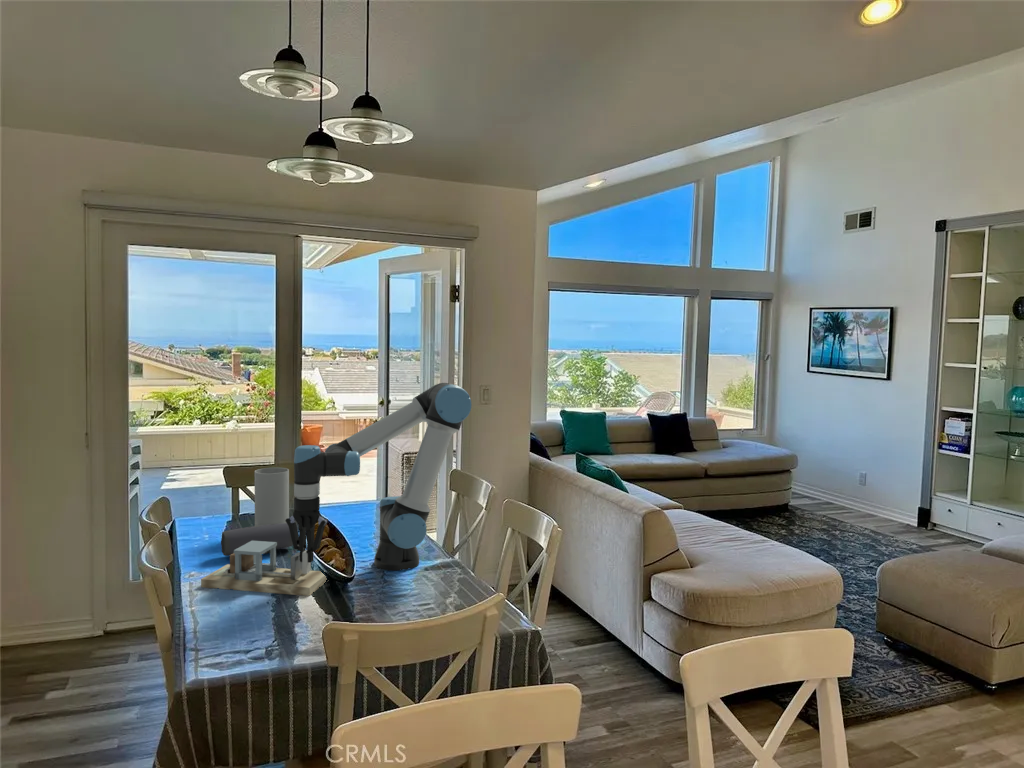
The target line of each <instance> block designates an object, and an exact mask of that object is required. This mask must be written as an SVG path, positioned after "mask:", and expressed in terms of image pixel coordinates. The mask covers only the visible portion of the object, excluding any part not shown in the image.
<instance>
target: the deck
mask: <svg viewBox="0 0 1024 768" xmlns="http://www.w3.org/2000/svg"><path fill="white" fill-rule="evenodd" d="M229 567H230V563H227V564H225V565H223V566H222V567H220V568H218V569H216V570H215V571H212V572H211V573H210V574H207V575H205V576H204V577H202V578H200V587H201V588H206V589H207V588H208V589H217V588H219V589H220V590H230V589H233V591H243V592H256V593H268V594H281V595H295V596H305V597H306V596H307V597H309V596H311V595H312V594H314V593H315V592H316V591H317V590H319V589H320V588H321V587H322V586H323V585H325V584H326V583H327V582H326V580H327V578H326V576H325V575H324V574H323V573H322V572H321V571H322V570H311V571H310V572H309V573H307V574H303V575H301V576H300V577H299V578H297V579H296V580H291V577H278V576H265V575H262V580H261V581H251V580H238V579H235V576H224V575H223V572H225V570H226V569H228V568H229ZM267 572H270V571H267ZM274 572H281V573H291V568H285V567H284V568H283V567H282V568H281V567H276V571H274ZM325 582H326V583H325ZM324 583H325V584H324ZM319 587H320V588H319ZM313 592H314V593H313Z"/></svg>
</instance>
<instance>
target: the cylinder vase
mask: <svg viewBox="0 0 1024 768" xmlns="http://www.w3.org/2000/svg"><path fill="white" fill-rule="evenodd" d="M289 491H290V469H289V468H287V467H264V468H258V469H256V470H254V526H260V525H269V524H280V523H286V519H287V518H289V517H290V492H289Z"/></svg>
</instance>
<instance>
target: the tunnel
mask: <svg viewBox="0 0 1024 768" xmlns="http://www.w3.org/2000/svg"><path fill="white" fill-rule="evenodd" d="M276 546H277V542H266V541H250V542H248V543H246V544H245V545H243V546H241V547H239V548H237V549H235V550H234V554H235V579H238V580H251V581H261V580H262V571H270V572H274V571H276V568H277V549H276ZM269 550H270V553H269V562H268V563H266V562H263V555H264V554H263V553H265V552H267V551H269ZM241 554H246V555H253V557H254V565H256V573H255V572H242V571H241ZM262 554H263V555H262Z"/></svg>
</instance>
